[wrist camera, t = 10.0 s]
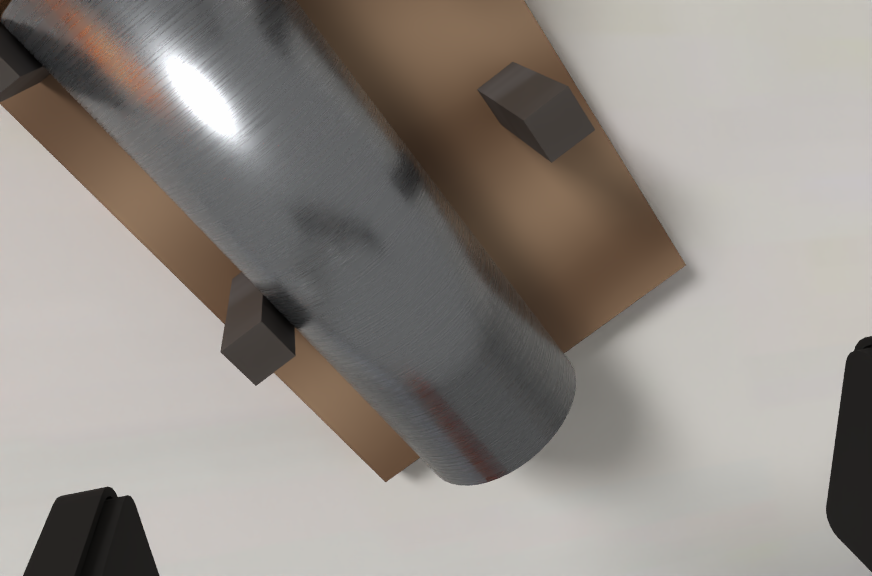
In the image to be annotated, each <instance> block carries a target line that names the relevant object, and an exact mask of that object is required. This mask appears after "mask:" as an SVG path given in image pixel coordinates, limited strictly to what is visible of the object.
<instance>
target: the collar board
mask: <svg viewBox="0 0 872 576" xmlns="http://www.w3.org/2000/svg"><path fill="white" fill-rule="evenodd" d="M296 1H297V3H298V4H299V5H300V7H301V8H302V9H303V11H304V12H305V13H306V15H307V16H308V17H309V19H310V20H311V21H312V23H313V24H314V25H315V26H316V28H317V29H318V30H319V32H320V33H321V34H322V36H323V37H324V38H325V40H326V41H327V42H328V44H329V45H330V46H331V48H332V49H333V50H334V51H335V53H336V54H337V55H338V57H339V58H340V59H341V61H342V62H343V63H344V65H345V66H346V67H347V69H348V70H349V71H350V73H351V74H352V75H353V76H354V78H355V79H356V80H357V82H358V83H359V84H360V86H361V87H362V88H363V90H364V91H365V92H366V94H367V95H368V96H369V98H370V99H371V100H372V102H373V103H374V104H375V105H376V107H377V108H378V109H379V111H380V112H381V113H382V115H383V116H384V117H385V119H386V120H387V121H388V123H389V124H390V125H391V127H392V128H393V129H394V130H395V132H396V133H397V134H398V136H399V137H400V138H401V140H402V141H403V142H404V144H405V145H406V146H407V148H408V149H409V150H410V152H411V153H412V154H413V155H414V157H415V158H416V159H417V161H418V162H419V163H420V165H421V166H422V167H423V169H424V170H425V171H426V173H427V174H428V175H429V177H430V178H431V179H432V181H433V182H434V183H435V184H436V186H437V187H438V188H439V190H440V191H441V192H442V194H443V195H444V196H445V198H446V199H447V200H448V202H449V203H450V204H451V206H452V207H453V208H454V209H455V211H456V212H457V213H458V215H459V216H460V217H461V219H462V220H463V221H464V223H465V224H466V225H467V227H468V228H469V229H470V231H471V232H472V233H473V234H474V236H475V237H476V238H477V240H478V241H479V242H480V244H481V245H482V246H483V248H484V249H485V250H486V252H487V253H488V254H489V256H490V257H491V258H492V260H493V261H494V262H495V263H496V265H497V266H498V267H499V269H500V270H501V271H502V273H503V274H504V275H505V277H506V278H507V279H508V281H509V282H510V283H511V285H512V286H513V287H514V288H515V290H516V291H517V292H518V294H519V295H520V296H521V298H522V299H523V300H524V302H525V303H526V304H527V306H528V307H529V308H530V310H531V311H532V312H533V313H534V315H535V316H536V317H537V319H538V320H539V321H540V323H541V324H542V325H543V327H544V328H545V329H546V331H547V332H548V333H549V335H550V336H551V337H552V339H553V340H554V341H555V342H556V344H557V345H558V346H559V348H560V349H561V350H562V352H563V353H565V352H567V351H568V350H569V349H571V348H572V347H573V346H575V345H576V344H578V343H579V342H580V341H582V340H583V339H585V338H586V337H587V336H589V335H590V334H591V333H593V332H594V331H596V330H597V329H598V328H600V327H601V326H603V325H604V324H605V323H607V322H608V321H609V320H611V319H612V318H614V317H615V316H616V315H618V314H619V313H621V312H622V311H623V310H625V309H626V308H627V307H629V306H630V305H632V304H633V303H634V302H636V301H637V300H639V299H640V298H641V297H643V296H644V295H645V294H647V293H648V292H650V291H651V290H652V289H654V288H655V287H657V286H658V285H659V284H661V283H662V282H663V281H665V280H666V279H668V278H669V277H670V276H672V275H673V274H674V273H676V272H677V271H679V270H680V269H681V268H683V267H684V266H686V264H685V263H684V261H683V259H682V258H681V256H680V255H679V253H678V251H677V250H676V248H675V246H674V245H673V243H672V241H671V240H670V238H669V237H668V235H667V233H666V232H665V230H664V228H663V227H662V225H661V223H660V222H659V220H658V219H657V217H656V215H655V214H654V212H653V210H652V209H651V207H650V205H649V204H648V202H647V201H646V199H645V197H644V196H643V194H642V192H641V191H640V189H639V188H638V186H637V184H636V183H635V181H634V179H633V178H632V176H631V174H630V173H629V171H628V170H627V168H626V166H625V165H624V163H623V161H622V160H621V158H620V156H619V155H618V153H617V152H616V150H615V148H614V147H613V145H612V143H611V142H610V140H609V138H608V137H607V135H606V134H605V132H604V130H603V129H602V127H601V125H600V124H599V122H598V120H597V119H596V117H595V116H594V114H593V112H592V111H591V109H590V107H589V106H588V104H587V103H586V101H585V99H584V98H583V96H582V94H581V93H580V91H579V89H578V88H577V86H576V85H575V83H574V81H573V80H572V78H571V76H570V75H569V73H568V71H567V70H566V68H565V67H564V65H563V63H562V62H561V60H560V58H559V57H558V55H557V53H556V52H555V50H554V49H553V47H552V45H551V44H550V42H549V40H548V39H547V37H546V35H545V34H544V32H543V31H542V29H541V27H540V26H539V24H538V22H537V21H536V19H535V18H534V16H533V14H532V13H531V11H530V9H529V8H528V6H527V4H526V3H525V1H524V0H296ZM0 104H1V105H2V106H3V107H4V108H5V109H6V110H7V111H8V112H9V113H10V114H11V115H12V116H13V117H14V118H15V119H16V120H17V121H18V122H19V123H20V124H21V125H22V126H23V127H24V128H25V129H26V130H27V131H28V132H29V133H30V134H31V135H32V136H33V137H34V138H35V139H37V140H38V141H39V142H40V143H41V144H42V145H43V146H44V147H45V148H46V149H47V150H48V151H49V152H50V153H51V154H52V155H53V156H54V157H55V158H56V159H57V160H58V161H59V162H60V163H61V164H62V165H63V166H64V167H65V168H66V169H67V170H68V171H69V172H70V173H71V174H72V175H73V176H74V177H75V178H76V179H77V180H78V181H79V182H80V183H81V184H82V185H83V186H84V187H85V188H86V189H87V190H88V191H89V192H90V193H92V194H93V195H94V196H95V197H96V198H97V199H98V200H99V201H100V202H101V203H102V204H103V205H104V206H105V207H106V208H107V209H108V210H109V211H110V212H111V213H112V214H113V215H114V216H115V217H116V218H117V219H118V220H119V221H120V222H121V223H122V224H123V225H124V226H125V227H126V228H127V229H128V230H129V231H130V232H131V233H132V234H133V235H134V236H135V237H136V238H137V239H138V240H139V241H140V242H141V243H142V244H143V245H144V246H145V247H147V248H148V249H149V250H150V251H151V252H152V253H153V254H154V255H155V256H156V257H157V258H158V259H159V260H160V261H161V262H162V263H163V264H164V265H165V266H166V267H167V268H168V269H169V270H170V271H171V272H172V273H173V274H174V275H175V276H176V277H177V278H178V279H179V280H180V281H181V282H182V283H183V284H184V285H185V286H186V287H187V288H188V289H189V290H190V291H191V292H192V293H193V294H194V295H195V296H196V297H197V298H198V299H199V300H201V301H202V302H203V303H204V304H205V305H206V306H207V307H208V308H209V309H210V310H211V311H212V312H213V313H214V314H215V315H216V316H217V317H218V318H219V319H220V320H221V321H222V322H223V323H224V324H225V327H224V334H223V340H222V346H221V353H222V354H223V355H224V356H225V357H226V358H227V359H228V360H229V361H230V362H231V363H232V364H234V365H235V366H236V367H237V368H238V369H239V370H240V371H241V372H242V373H243V374H244V375H245V376H246V377H247V378H248V379H249V380H250V381H251V382H252V383H253V384H254V385H258V384H259V383H260V382H262V381H263V380H264V379H266V378H267V377H268V376H270V375H271V374H272V373H275V374H276V375H277V376H278V377H279V378H280V379H281V380H282V381H283V382H284V383H285V384H286V385H287V386H288V387H289V388H290V389H291V390H292V391H293V392H294V393H295V394H296V395H297V396H298V397H299V398H300V399H301V400H302V401H303V402H304V403H305V404H306V405H307V406H308V407H309V408H311V409H312V410H313V411H314V412H315V413H316V414H317V415H318V416H319V417H320V418H321V419H322V420H323V421H324V422H325V423H326V424H327V425H328V426H329V427H330V428H331V429H332V430H333V431H334V432H335V433H336V434H337V435H338V436H339V437H340V438H341V439H342V440H343V441H344V442H345V443H346V444H347V445H348V446H349V447H350V448H351V449H352V450H353V451H354V452H355V453H356V454H357V455H358V456H359V457H360V458H361V459H362V460H363V461H364V462H366V463H367V464H368V465H369V466H370V467H371V468H372V469H373V470H374V471H375V472H376V473H377V474H378V475H379V476H380V477H381V478H382V479H383V480H384V481H385V482H387V481H388V480H389V479H391V478H392V477H394V476H395V475H396V474H398V473H399V472H401V471H402V470H403V469H405V468H406V467H407V466H409V465H410V464H412V463H413V462H414V461H416V460H417V459H419V458H420V457H419V456H418V455H417V453H416V452H415V451H414V450H413V449H412V448H411V447H410V446H409V445H408V444H407V443H406V442H405V441H404V440H403V439H402V438H401V437H400V436H399V435H398V434H397V433H396V432H395V431H394V430H393V429H392V428H391V427H390V425H389V424H388V423H387V422H386V421H385V420H384V419H383V418H382V417H381V416H380V415H379V414H378V413H377V412H376V411H375V410H374V409H373V408H372V407H371V406H370V405H369V404H368V403H367V402H366V401H365V400H364V398H363V397H362V396H361V395H360V394H359V393H358V392H357V391H356V390H355V389H354V388H353V387H352V386H351V385H350V384H349V383H348V382H347V381H346V380H345V379H344V378H343V377H342V376H341V375H340V374H339V373H338V372H337V370H336V369H335V368H334V367H333V366H332V365H331V364H330V363H329V362H328V361H327V360H326V359H325V358H324V357H323V356H322V355H321V354H320V353H319V352H318V351H317V350H316V349H315V348H314V347H313V346H312V345H311V344H310V342H309V341H308V340H307V339H306V338H305V337H304V336H303V335H302V334H301V333H300V332H299V331H298V330H297V329H296V328H295V327H294V326H293V325H292V324H291V323H290V322H289V321H288V320H287V319H286V318H285V317H284V315H283V314H282V313H281V312H280V311H279V310H278V309H277V308H276V307H275V306H274V305H273V304H272V303H271V302H270V301H269V300H268V299H267V298H266V297H265V296H264V295H263V294H262V293H261V292H260V291H259V290H258V289H257V287H256V286H255V285H254V284H253V283H252V282H251V281H250V280H249V279H248V278H247V277H246V276H245V275H244V274H243V273H242V272H241V271H240V270H239V269H238V268H237V267H236V266H235V265H234V264H233V263H232V262H231V261H230V259H229V258H228V257H227V256H226V255H225V254H224V253H223V252H222V251H221V250H220V249H219V248H218V247H217V246H216V245H215V244H214V243H213V242H212V241H211V240H210V239H209V238H208V237H207V236H206V235H205V234H204V232H203V231H202V230H201V229H200V228H199V227H198V226H197V225H196V224H195V223H194V222H193V221H192V220H191V219H190V218H189V217H188V216H187V215H186V214H185V213H184V212H183V211H182V210H181V209H180V208H179V207H178V206H177V204H176V203H175V202H174V201H173V200H172V199H171V198H170V197H169V196H168V195H167V194H166V193H165V192H164V191H163V190H162V189H161V188H160V187H159V186H158V185H157V184H156V183H155V182H154V181H153V180H152V179H151V177H150V176H149V175H148V174H147V173H146V172H145V171H144V170H143V169H142V168H141V167H140V166H139V165H138V164H137V163H136V162H135V161H134V160H133V159H132V158H131V157H130V156H129V155H128V154H127V153H126V152H125V151H124V149H123V148H122V147H121V146H120V145H119V144H118V143H117V142H116V141H115V140H114V139H113V138H112V137H111V136H110V135H109V134H108V133H107V132H106V131H105V130H104V129H103V128H102V127H101V126H100V125H99V124H98V123H97V121H96V120H95V119H94V118H93V117H92V116H91V115H90V114H89V113H88V112H87V111H86V110H85V109H84V108H83V107H82V106H81V105H80V104H79V103H78V102H77V101H76V100H75V99H74V98H73V97H72V96H71V94H70V93H69V92H68V91H67V90H66V89H65V88H64V87H63V86H62V85H61V84H60V83H59V82H58V81H57V80H56V79H55V78H54V77H53V76H52V75H51V74H50V73H49V72H48V71H47V70H46V69H45V68H44V66H43V65H42V64H41V63H40V62H39V61H38V60H37V59H36V58H35V57H34V56H33V55H32V54H31V53H30V52H29V51H28V50H27V49H26V48H25V47H24V46H23V45H22V44H21V43H20V42H19V41H18V39H17V38H16V37H15V36H14V35H13V34H12V33H11V32H10V31H9V30H8V29H7V28H6V27H5V26H4V25H3V24H2V23H1V22H0Z"/></svg>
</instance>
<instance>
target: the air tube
mask: <svg viewBox="0 0 872 576" xmlns="http://www.w3.org/2000/svg"><path fill="white" fill-rule="evenodd" d="M0 22H1V23H2V24H3V25H4V26H5V27H6V28H7V29H8V30H9V31H10V32H11V33H12V34H13V35H14V36H15V37H16V38H17V39H18V41H19V42H20V43H21V44H22V45H23V46H24V47H25V48H26V49H27V50H28V51H29V52H30V53H31V54H32V55H33V56H34V57H35V58H36V59H37V60H38V61H39V62H40V63H41V64H42V65H43V66H44V68H45V69H46V70H47V71H48V72H49V73H50V74H51V75H52V76H53V77H54V78H55V79H56V80H57V81H58V82H59V83H60V84H61V85H62V86H63V87H64V88H65V89H66V90H67V91H68V92H69V93H70V94H71V96H72V97H73V98H74V99H75V100H76V101H77V102H78V103H79V104H80V105H81V106H82V107H83V108H84V109H85V110H86V111H87V112H88V113H89V114H90V115H91V116H92V117H93V118H94V119H95V120H96V121H97V123H98V124H99V125H100V126H101V127H102V128H103V129H104V130H105V131H106V132H107V133H108V134H109V135H110V136H111V137H112V138H113V139H114V140H115V141H116V142H117V143H118V144H119V145H120V146H121V147H122V148H123V149H124V151H125V152H126V153H127V154H128V155H129V156H130V157H131V158H132V159H133V160H134V161H135V162H136V163H137V164H138V165H139V166H140V167H141V168H142V169H143V170H144V171H145V172H146V173H147V174H148V175H149V176H150V177H151V179H152V180H153V181H154V182H155V183H156V184H157V185H158V186H159V187H160V188H161V189H162V190H163V191H164V192H165V193H166V194H167V195H168V196H169V197H170V198H171V199H172V200H173V201H174V202H175V203H176V204H177V206H178V207H179V208H180V209H181V210H182V211H183V212H184V213H185V214H186V215H187V216H188V217H189V218H190V219H191V220H192V221H193V222H194V223H195V224H196V225H197V226H198V227H199V228H200V229H201V230H202V231H203V232H204V234H205V235H206V236H207V237H208V238H209V239H210V240H211V241H212V242H213V243H214V244H215V245H216V246H217V247H218V248H219V249H220V250H221V251H222V252H223V253H224V254H225V255H226V256H227V257H228V258H229V259H230V261H231V262H232V263H233V264H234V265H235V266H236V267H237V268H238V269H239V270H240V271H241V272H242V273H243V274H244V275H245V276H246V277H247V278H248V279H249V280H250V281H251V282H252V283H253V284H254V285H255V286H256V287H257V289H258V290H259V291H260V292H261V293H262V294H263V295H264V296H265V297H266V298H267V299H268V300H269V301H270V302H271V303H272V304H273V305H274V306H275V307H276V308H277V309H278V310H279V311H280V312H281V313H282V314H283V315H284V317H285V318H286V319H287V320H288V321H289V322H290V323H291V324H292V325H293V326H294V327H295V328H296V329H297V330H298V331H299V332H300V333H301V334H302V335H303V336H304V337H305V338H306V339H307V340H308V341H309V342H310V344H311V345H312V346H313V347H314V348H315V349H316V350H317V351H318V352H319V353H320V354H321V355H322V356H323V357H324V358H325V359H326V360H327V361H328V362H329V363H330V364H331V365H332V366H333V367H334V368H335V369H336V370H337V372H338V373H339V374H340V375H341V376H342V377H343V378H344V379H345V380H346V381H347V382H348V383H349V384H350V385H351V386H352V387H353V388H354V389H355V390H356V391H357V392H358V393H359V394H360V395H361V396H362V397H363V398H364V400H365V401H366V402H367V403H368V404H369V405H370V406H371V407H372V408H373V409H374V410H375V411H376V412H377V413H378V414H379V415H380V416H381V417H382V418H383V419H384V420H385V421H386V422H387V423H388V424H389V425H390V427H391V428H392V429H393V430H394V431H395V432H396V433H397V434H398V435H399V436H400V437H401V438H402V439H403V440H404V441H405V442H406V443H407V444H408V445H409V446H410V447H411V448H412V449H413V450H414V451H415V452H416V453H417V455H418V456H419V457H420V458H421V459H422V460H423V461H424V462H425V463H426V464H427V465H428V466H429V467H430V468H431V469H432V470H433V471H434V472H435V473H436V474H437V475H438V476H439V477H440V478H441V479H443V480H444V481H446V482H449V483H451V484H456V485H468V486H469V485H478V484H482V483H486V482H490V481H492V480H495V479H498V478H500V477H502V476H504V475H506V474H509V473H510V472H512V471H514V470H515V469H517V468H519V467H520V466H522V465H523V464H524V463H526V462H527V461H529V460H530V459H531V458H532V457H533V456H535V455H536V454H537V453H538V452H539V451H540V450H541V449H542V448H543V447H544V446H545V445H546V444H547V443H548V442H549V441H550V440H551V438H552V437H553V436H554V435H555V433H556V432H557V431H558V429H559V428H560V426H561V425H562V423H563V422H564V420H565V418H566V416H567V414H568V412H569V410H570V407H571V405H572V402H573V398H574V394H575V387H576V376H575V372H574V368H573V366H572V364H571V362H570V361H569V360H568V358H567V357H566V356H565V354H564V353H563V352H562V350H561V349H560V348H559V346H558V345H557V344H556V342H555V341H554V340H553V339H552V337H551V336H550V335H549V333H548V332H547V331H546V329H545V328H544V327H543V325H542V324H541V323H540V321H539V320H538V319H537V317H536V316H535V315H534V313H533V312H532V311H531V310H530V308H529V307H528V306H527V304H526V303H525V302H524V300H523V299H522V298H521V296H520V295H519V294H518V292H517V291H516V290H515V288H514V287H513V286H512V285H511V283H510V282H509V281H508V279H507V278H506V277H505V275H504V274H503V273H502V271H501V270H500V269H499V267H498V266H497V265H496V263H495V262H494V261H493V260H492V258H491V257H490V256H489V254H488V253H487V252H486V250H485V249H484V248H483V246H482V245H481V244H480V242H479V241H478V240H477V238H476V237H475V236H474V234H473V233H472V232H471V231H470V229H469V228H468V227H467V225H466V224H465V223H464V221H463V220H462V219H461V217H460V216H459V215H458V213H457V212H456V211H455V209H454V208H453V207H452V206H451V204H450V203H449V202H448V200H447V199H446V198H445V196H444V195H443V194H442V192H441V191H440V190H439V188H438V187H437V186H436V184H435V183H434V182H433V181H432V179H431V178H430V177H429V175H428V174H427V173H426V171H425V170H424V169H423V167H422V166H421V165H420V163H419V162H418V161H417V159H416V158H415V157H414V155H413V154H412V153H411V152H410V150H409V149H408V148H407V146H406V145H405V144H404V142H403V141H402V140H401V138H400V137H399V136H398V134H397V133H396V132H395V130H394V129H393V128H392V127H391V125H390V124H389V123H388V121H387V120H386V119H385V117H384V116H383V115H382V113H381V112H380V111H379V109H378V108H377V107H376V105H375V104H374V103H373V102H372V100H371V99H370V98H369V96H368V95H367V94H366V92H365V91H364V90H363V88H362V87H361V86H360V84H359V83H358V82H357V80H356V79H355V78H354V76H353V75H352V74H351V73H350V71H349V70H348V69H347V67H346V66H345V65H344V63H343V62H342V61H341V59H340V58H339V57H338V55H337V54H336V53H335V51H334V50H333V49H332V48H331V46H330V45H329V44H328V42H327V41H326V40H325V38H324V37H323V36H322V34H321V33H320V32H319V30H318V29H317V28H316V26H315V25H314V24H313V23H312V21H311V20H310V19H309V17H308V16H307V15H306V13H305V12H304V11H303V9H302V8H301V7H300V5H299V4H298V3H297V1H296V0H0Z"/></svg>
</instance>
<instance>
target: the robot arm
mask: <svg viewBox="0 0 872 576" xmlns="http://www.w3.org/2000/svg"><path fill="white" fill-rule="evenodd" d="M826 514H827V519H828V522H829V524H830V527H831V528H832V530H833V532H834V533H835V534H836V536H837V537H838V538H839V539H840V540H841V541H842V542H843V543H844V544H845V545H846V546H847V547H848V548H849V549H850V550H851V551H852V552H853V553H854V554H855V555H856V556H857V557H858V559H859V560H860V561H861V562H862V563H863V564H864V565H865V566H866V567H867V568H868V569H869V570H870V571H871V572H872V336H870V337H865V338H863V339H862V340H860V341H859V342H858V344H857V345H856V346H855V350H854V351H853V352H851V353H850V354H849V355H848V357H847V360H846V365H845V372H844V380H843V387H842V394H841V402H840V409H839V417H838V424H837V431H836V439H835V446H834V454H833V461H832V468H831V476H830V483H829V491H828V498H827V505H826ZM23 576H159V573H158V570H157V567H156V564H155V561H154V558H153V556H152V553H151V550H150V547H149V544H148V541H147V538H146V535H145V532H144V529H143V526H142V523H141V520H140V517H139V514H138V511H137V508H136V505H135V503H134V500H133V499H132V497H131V496H128V495H127V496H122V497H117V495H116V492H115V491H114V490H113V489H112V488H110V487H104V488H99V489H94V490H89V491H84V492H79V493H74V494H68V495H63V496H60V497H58V498H57V499H56V501H55V502H54V504H53V506H52V508H51V511H50V513H49V515H48V518H47V520H46V523H45V525H44V527H43V530H42V532H41V534H40V537H39V539H38V541H37V544H36V546H35V549H34V551H33V553H32V556H31V558H30V560H29V563H28V565H27V567H26V570H25V572H24V575H23Z"/></svg>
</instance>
